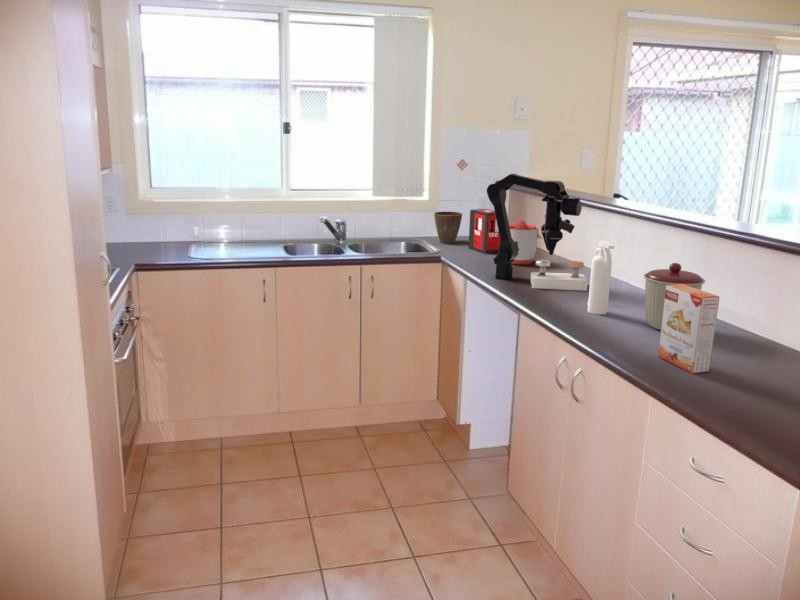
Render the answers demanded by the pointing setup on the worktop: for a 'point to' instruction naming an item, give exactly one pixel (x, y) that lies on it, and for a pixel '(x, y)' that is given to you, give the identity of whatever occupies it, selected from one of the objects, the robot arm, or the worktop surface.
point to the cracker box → (688, 327)
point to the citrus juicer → (524, 241)
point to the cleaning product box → (483, 231)
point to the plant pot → (447, 226)
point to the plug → (542, 266)
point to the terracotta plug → (576, 267)
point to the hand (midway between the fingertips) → (549, 252)
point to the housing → (558, 281)
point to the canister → (657, 290)
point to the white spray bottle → (600, 279)
